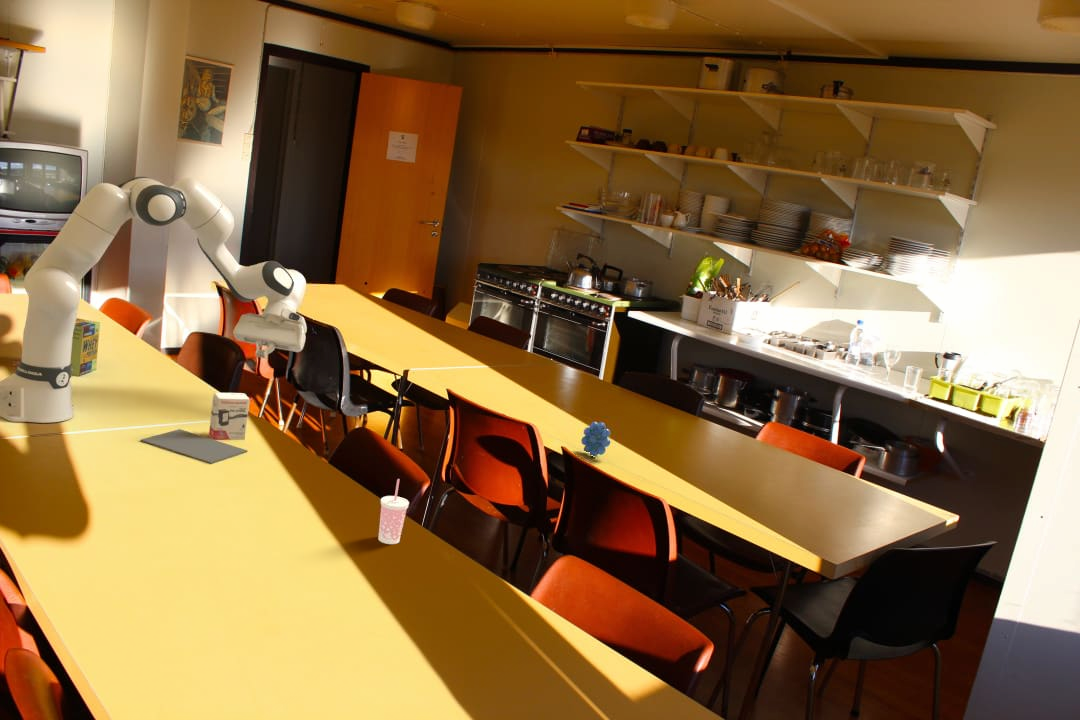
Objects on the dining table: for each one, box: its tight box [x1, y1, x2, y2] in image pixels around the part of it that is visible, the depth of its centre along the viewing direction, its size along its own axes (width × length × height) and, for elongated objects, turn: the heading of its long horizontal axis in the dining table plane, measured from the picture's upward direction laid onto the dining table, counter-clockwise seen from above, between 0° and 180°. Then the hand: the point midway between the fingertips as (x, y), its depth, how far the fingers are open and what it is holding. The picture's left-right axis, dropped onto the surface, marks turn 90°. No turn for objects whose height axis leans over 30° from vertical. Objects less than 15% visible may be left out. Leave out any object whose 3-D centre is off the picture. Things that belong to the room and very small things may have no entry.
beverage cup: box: [378, 478, 410, 545], centre depth 194 cm, size 6×6×14 cm
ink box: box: [208, 392, 251, 441], centre depth 240 cm, size 8×5×12 cm, turn 123°
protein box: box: [70, 317, 101, 377], centre depth 274 cm, size 10×15×16 cm
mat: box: [139, 428, 249, 465], centre depth 230 cm, size 22×14×1 cm, turn 70°
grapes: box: [580, 421, 611, 457], centre depth 285 cm, size 12×7×12 cm, turn 42°
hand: (260, 356), depth 255 cm, fingers closed
